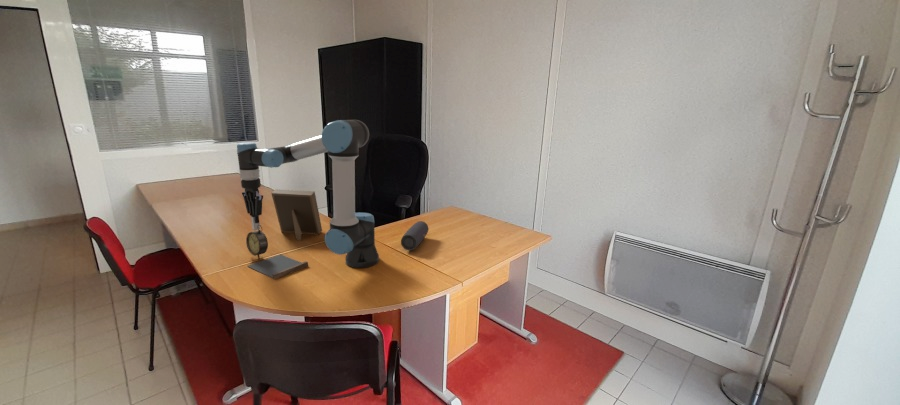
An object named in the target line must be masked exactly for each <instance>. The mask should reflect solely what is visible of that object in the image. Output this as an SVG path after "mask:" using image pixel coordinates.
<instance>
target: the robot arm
mask: <svg viewBox="0 0 900 405" xmlns="http://www.w3.org/2000/svg"><path fill="white" fill-rule="evenodd" d="M369 137H370V131H369V128H368V126H367V125H366V123H364V122H363V121H361V120H358V119H340V120H339V119H337V120H334V121H331V122H328V123H327V124H326V125H325V126H324V128H323V130H322V132H321V135H318V136H314V137H312V138H308V139H305V140H302V141H298V142H295V143H292V144H287V145H284V146H280V147H279V146H277V147H270V148H258V146H257V144H256V143H255V142H239V143H237V145H236V149H237V150H236V152H237V153H236V154H237V159H238V167H239V170H238V171H239V178H240V179H241V180H240V184H241V186H240V187H241V188H242V189H244V191H243V192H241V195H242V197H243V200H244V205H245V209H246V213H247V214H249V216H250V221H251V227H252V228H251V229H252V231H258V229H259V230H261V226H258V225H260V216H262V214H263V199H264V195H262V194H260V190H259V188H260V187H261V179H260V177H261V176H260V167H266V168H271V169H272V168H279V167H281V165H283V164H288V163H295V162H297V161H299V160H303V159H307V158H310V157H314V156H318V155H322V154H324V153H327V156H328V157H329V158H331V160H332V161H331V165H332V166H331V168H332V203H333V204H332V205H333V206H332V208H333V209H332V210H333V217H332V218H331V219H330V220H329V229H328V230H327V232H326V233H325V235H324V244H325V245H326V247H327V249H328V250H330V251H331V252H332V253H333V254H335V255H339V256H340V255H341V256H342V255H346V256H345V265H347V267H348V266H349V267H351V268H355V269H356V268H357V269H364V268H370V267H373V266H375V265H377V264H378V263H379V262H380V255H379V252H378V250H377V248H376V245H375V244H376V242H375V240H376V239H375V234H376V233H375V217H374V215H373V214H372V213H369V212H356V181H355V180H356V177H355V176H356V173H355V169H356V166H355V164H356V163H355V160H356V159H357V158H358V157H359V153H360V152H359V151H360V150H359V148H362V147H365V145H366V144H367V143H368V141H369V139H370V138H369Z"/></svg>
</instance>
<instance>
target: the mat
mask: <svg viewBox="0 0 900 405" xmlns="http://www.w3.org/2000/svg"><path fill="white" fill-rule="evenodd" d="M300 263H302V262H300V261H298V260H296V259H293V258H291V257H289V256H286V255H283V254H277V255H274V256H271V257H269V258H266V259H263V260H259V261H257V262H255V263H252V264H249V265H247V267H248V268H249V269H252V270H254V271H256V272H258V273H260V274H262V275H265V276H267V277H269V278H271V279H273V275H272V274H274V273H276V272H279V271H281V270H284V269H287V268H289V267H292V266H294V265H297V264H300Z"/></svg>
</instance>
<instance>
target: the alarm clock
mask: <svg viewBox="0 0 900 405" xmlns="http://www.w3.org/2000/svg"><path fill="white" fill-rule="evenodd" d="M258 226H260V229H258V230H253V231H251V232H248V233H247V235H246V238H245V239H246V240H245V241H246V242H245V243H246V244H245V245H246V248H247V250H248V252H249V253H250V255H252V256H257V258H258V260H259V261H261V258H260V255H263V254H265V253H266V252H267V250H268V247H269V241H268V237H267V236H266V234H265V233H264V232H263V226H262V225H258Z"/></svg>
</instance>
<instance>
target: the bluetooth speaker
mask: <svg viewBox="0 0 900 405" xmlns="http://www.w3.org/2000/svg"><path fill="white" fill-rule="evenodd" d="M428 232H429V225H428V224H427V223H426V222H425V221H423V220H422V221H421V220H419V221H416V222H415V223H413V225H412V226H410V228H408V230H406V232H405V233H404V235H403V236H402V237H401V240H400V245H401V247H402V248H403V249H404V250H406V251H413V250H415V249H416V248H418V246H419V245H420V244H421V243H422V242H423V240H424V239H426V238H425V237H427V235H428Z"/></svg>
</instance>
